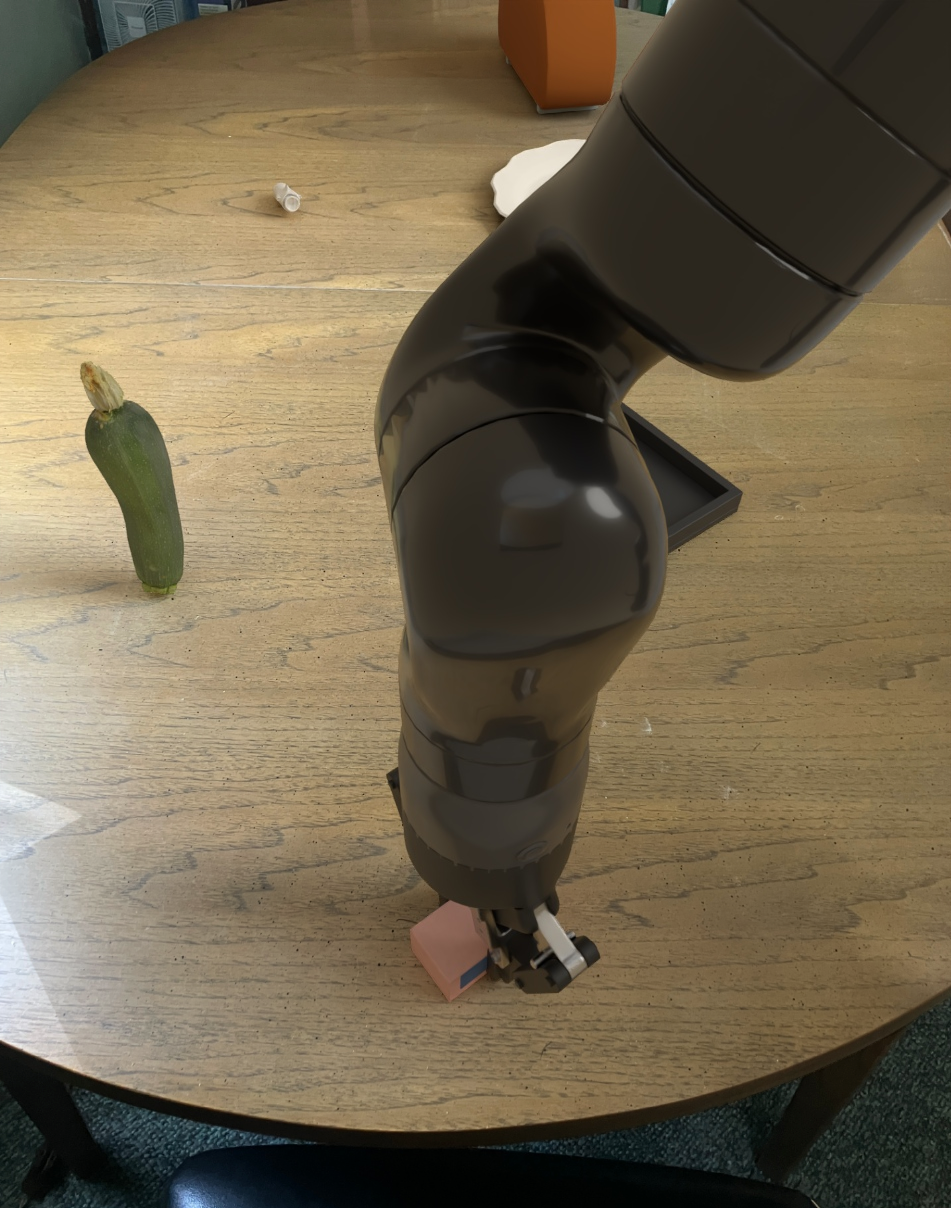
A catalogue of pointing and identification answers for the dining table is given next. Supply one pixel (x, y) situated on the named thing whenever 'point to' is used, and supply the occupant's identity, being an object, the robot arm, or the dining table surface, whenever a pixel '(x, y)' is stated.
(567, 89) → the alarm clock
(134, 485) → the vegetable
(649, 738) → the dining table surface
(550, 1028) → the dining table surface
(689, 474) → the tray
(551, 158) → the plate
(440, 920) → the eraser
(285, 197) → the small white plastic part
